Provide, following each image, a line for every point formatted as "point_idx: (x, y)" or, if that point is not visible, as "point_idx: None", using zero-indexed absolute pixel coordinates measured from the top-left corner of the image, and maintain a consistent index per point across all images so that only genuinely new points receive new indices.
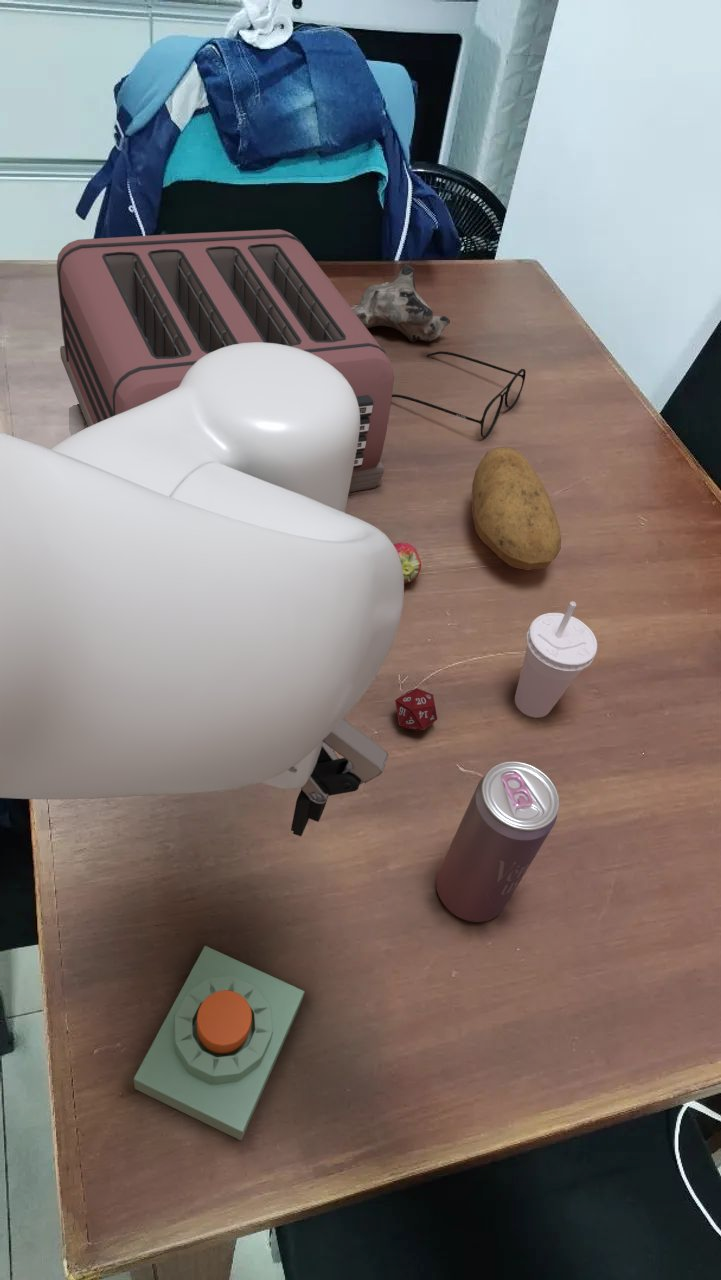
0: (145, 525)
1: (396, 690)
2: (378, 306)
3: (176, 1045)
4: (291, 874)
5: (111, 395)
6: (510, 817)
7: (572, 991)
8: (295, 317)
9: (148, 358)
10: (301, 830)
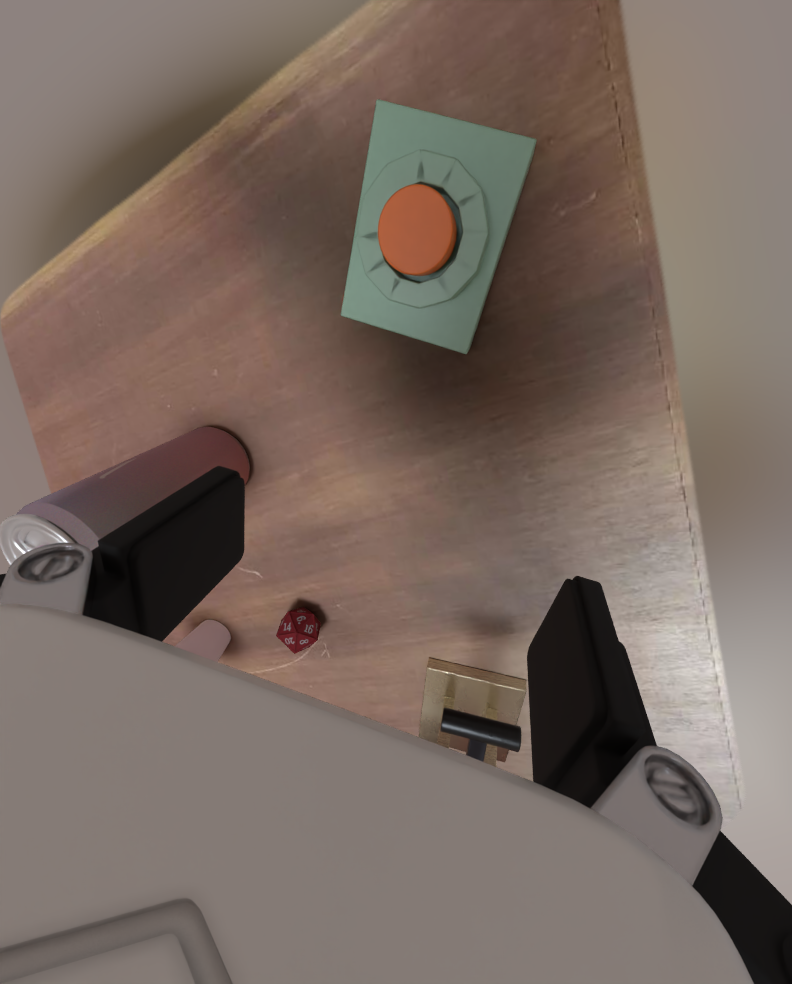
0: None
1: (328, 643)
2: None
3: (479, 186)
4: (390, 458)
5: None
6: (42, 531)
7: (115, 370)
8: None
9: None
10: (203, 476)
